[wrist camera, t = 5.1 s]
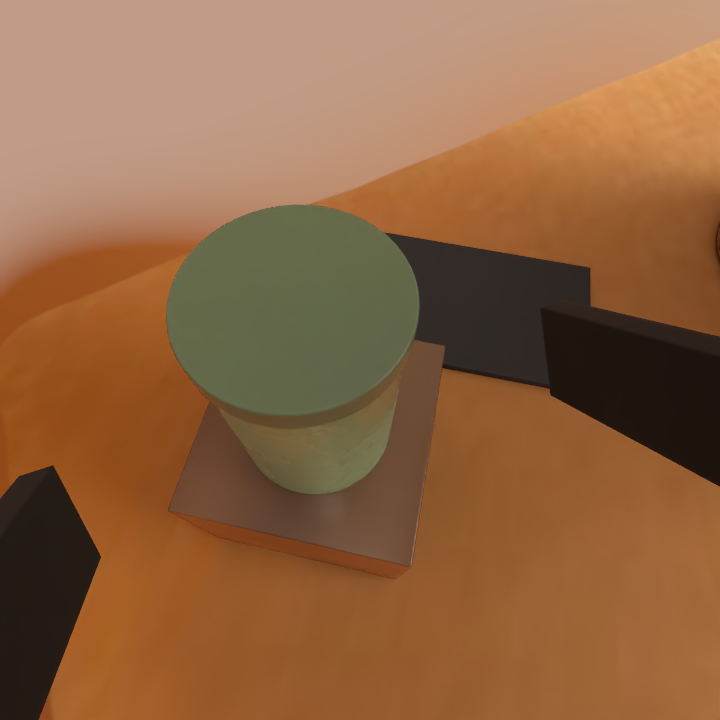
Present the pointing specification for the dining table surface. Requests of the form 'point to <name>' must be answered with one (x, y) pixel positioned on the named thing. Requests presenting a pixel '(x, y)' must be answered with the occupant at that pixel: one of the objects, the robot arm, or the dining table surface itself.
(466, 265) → the rubber mat
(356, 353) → the green tin
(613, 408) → the robot arm
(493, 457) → the dining table surface
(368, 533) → the walnut block
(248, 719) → the dining table surface
